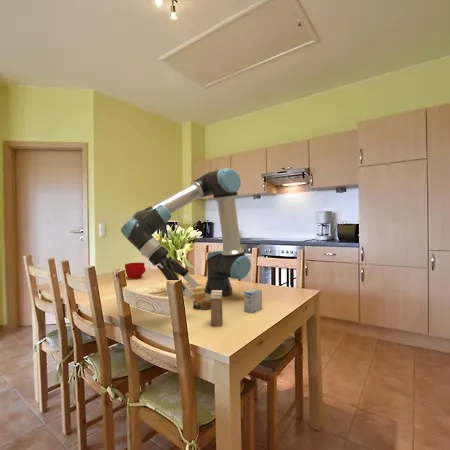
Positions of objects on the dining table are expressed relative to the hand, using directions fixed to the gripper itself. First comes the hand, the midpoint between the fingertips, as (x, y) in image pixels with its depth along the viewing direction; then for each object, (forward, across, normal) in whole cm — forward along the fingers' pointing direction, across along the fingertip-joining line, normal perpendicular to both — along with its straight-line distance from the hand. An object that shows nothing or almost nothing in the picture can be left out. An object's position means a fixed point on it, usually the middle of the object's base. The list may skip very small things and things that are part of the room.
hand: (194, 290), depth 105 cm
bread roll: (+10, -20, -8) cm, 24 cm away
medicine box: (+26, -16, +8) cm, 31 cm away
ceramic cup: (-28, -81, -47) cm, 98 cm away
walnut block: (+15, -1, -3) cm, 15 cm away
